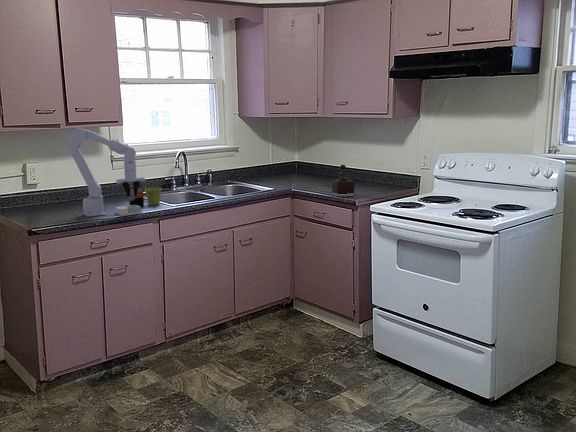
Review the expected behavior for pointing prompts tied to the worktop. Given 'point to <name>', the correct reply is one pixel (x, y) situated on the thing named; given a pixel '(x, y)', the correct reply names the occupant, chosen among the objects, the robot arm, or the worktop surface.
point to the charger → (128, 210)
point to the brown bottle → (342, 183)
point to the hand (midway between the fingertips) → (131, 196)
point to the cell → (131, 193)
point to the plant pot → (153, 195)
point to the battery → (138, 199)
